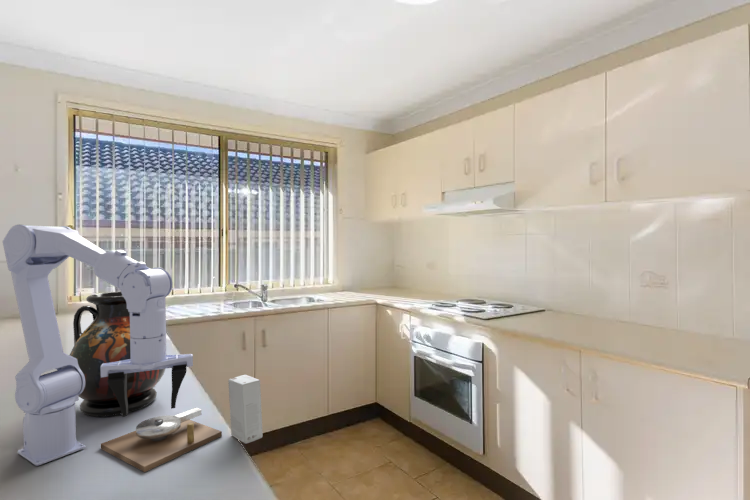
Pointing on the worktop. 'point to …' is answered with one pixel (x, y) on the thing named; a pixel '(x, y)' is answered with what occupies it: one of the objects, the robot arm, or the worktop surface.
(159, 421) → the silver disc with handle
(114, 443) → the base board
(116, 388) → the robot arm
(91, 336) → the amphora vase
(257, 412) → the skincare box
